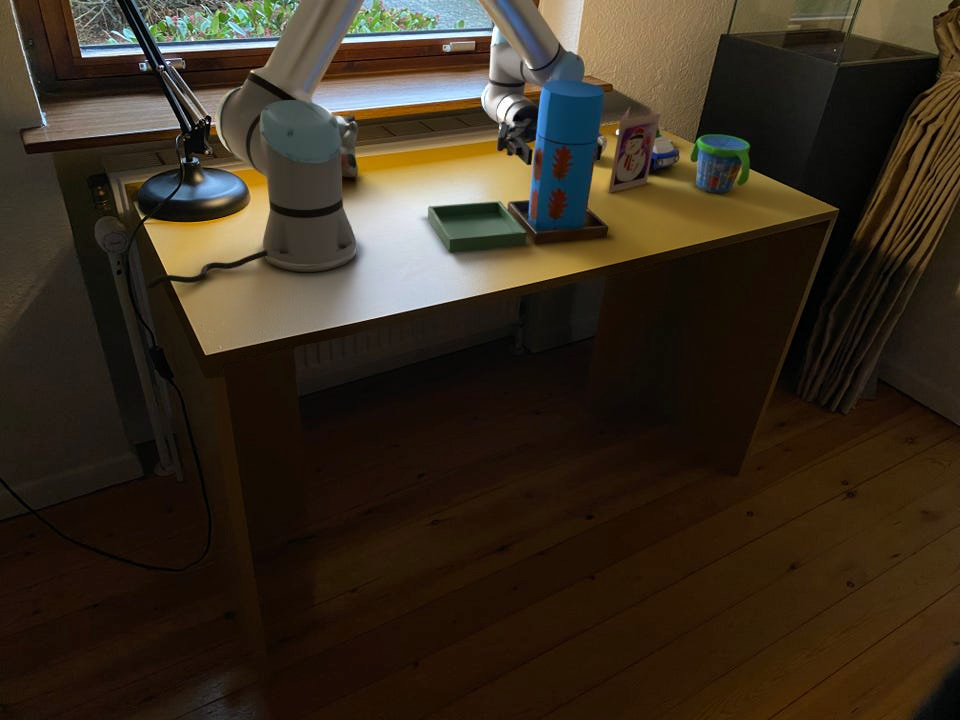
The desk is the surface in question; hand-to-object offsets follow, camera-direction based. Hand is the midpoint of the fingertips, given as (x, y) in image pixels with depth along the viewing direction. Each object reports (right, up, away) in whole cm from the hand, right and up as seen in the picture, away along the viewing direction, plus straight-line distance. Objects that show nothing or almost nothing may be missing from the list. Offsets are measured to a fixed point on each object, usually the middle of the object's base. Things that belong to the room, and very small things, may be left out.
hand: (565, 155), depth 131 cm
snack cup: (+35, +1, +29) cm, 45 cm away
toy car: (+23, +8, +38) cm, 45 cm away
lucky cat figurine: (-47, +2, +21) cm, 52 cm away
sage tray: (-16, -13, +3) cm, 21 cm away
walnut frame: (-1, -11, +8) cm, 13 cm away
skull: (+8, +10, +39) cm, 41 cm away
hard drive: (+26, +18, +52) cm, 61 cm away
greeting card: (+15, +1, +27) cm, 31 cm away
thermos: (-1, -11, +8) cm, 14 cm away
